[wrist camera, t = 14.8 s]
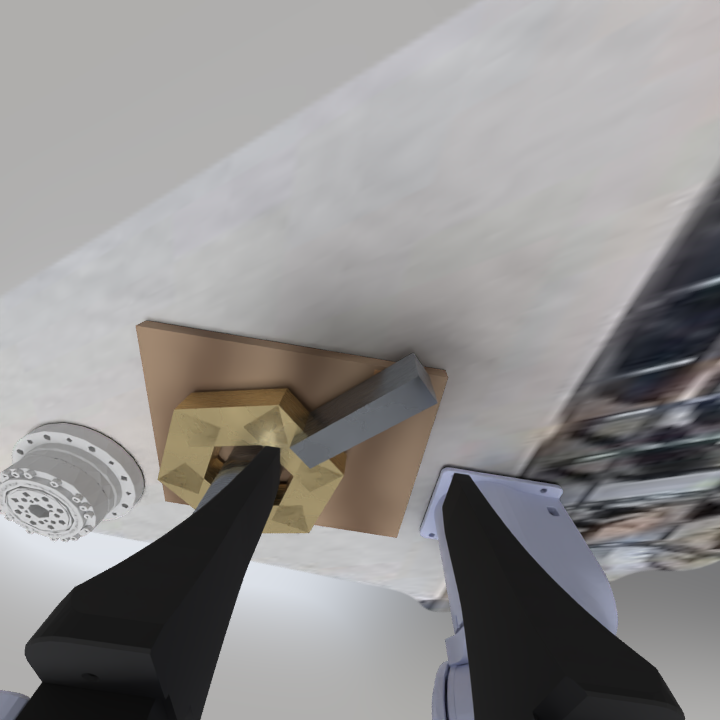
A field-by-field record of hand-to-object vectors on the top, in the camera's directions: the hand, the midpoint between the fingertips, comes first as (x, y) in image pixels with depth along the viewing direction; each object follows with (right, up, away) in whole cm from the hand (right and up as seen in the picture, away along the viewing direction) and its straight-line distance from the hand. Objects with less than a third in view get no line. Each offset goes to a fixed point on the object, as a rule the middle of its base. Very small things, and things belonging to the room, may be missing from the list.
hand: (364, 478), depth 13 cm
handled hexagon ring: (-4, 0, +9) cm, 10 cm away
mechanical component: (-24, -4, +14) cm, 28 cm away
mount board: (-6, -1, +11) cm, 13 cm away
